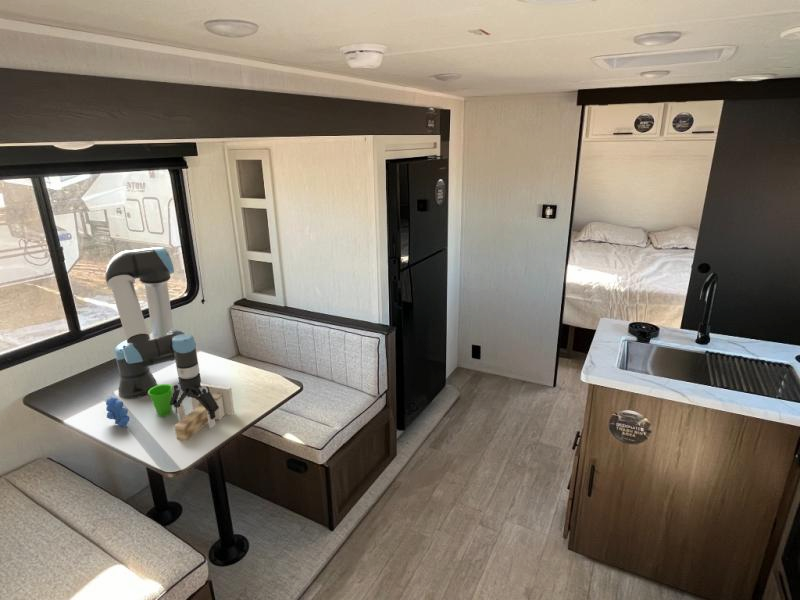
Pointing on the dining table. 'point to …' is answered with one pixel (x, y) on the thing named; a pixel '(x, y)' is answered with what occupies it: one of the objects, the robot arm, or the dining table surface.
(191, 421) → the block
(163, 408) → the cup
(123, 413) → the grapes
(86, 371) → the dining table surface
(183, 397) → the robot arm
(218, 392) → the headboard
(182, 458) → the dining table surface
